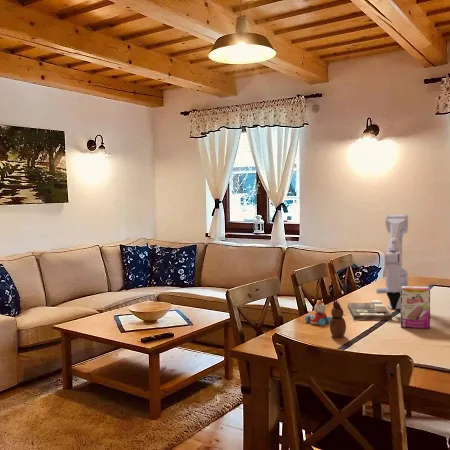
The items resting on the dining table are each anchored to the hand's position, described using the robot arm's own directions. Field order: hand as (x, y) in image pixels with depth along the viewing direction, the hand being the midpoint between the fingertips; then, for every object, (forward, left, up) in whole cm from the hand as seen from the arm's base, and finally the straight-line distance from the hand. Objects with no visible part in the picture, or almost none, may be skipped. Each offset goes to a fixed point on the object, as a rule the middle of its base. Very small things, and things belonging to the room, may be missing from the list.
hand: (393, 309), depth 216 cm
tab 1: (+6, -8, -1) cm, 10 cm away
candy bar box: (-5, +18, -3) cm, 19 cm away
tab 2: (+6, 0, -1) cm, 6 cm away
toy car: (+33, +11, -3) cm, 35 cm away
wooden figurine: (+27, +31, -3) cm, 41 cm away
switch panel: (+10, -5, -3) cm, 12 cm away
